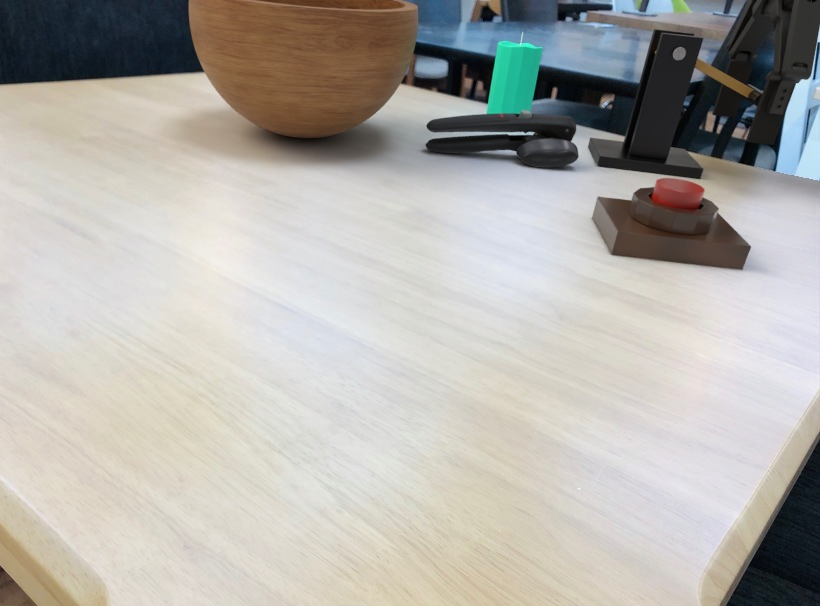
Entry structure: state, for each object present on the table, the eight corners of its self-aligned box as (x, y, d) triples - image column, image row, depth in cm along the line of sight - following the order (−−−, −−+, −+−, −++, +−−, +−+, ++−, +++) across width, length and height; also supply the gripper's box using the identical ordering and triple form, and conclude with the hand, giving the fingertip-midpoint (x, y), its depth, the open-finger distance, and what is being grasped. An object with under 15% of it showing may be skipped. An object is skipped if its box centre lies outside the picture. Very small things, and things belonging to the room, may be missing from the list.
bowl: (421, 127, 93) (437, 1, 85) (376, 180, 72) (392, 19, 64) (244, 100, 97) (244, -22, 90) (152, 143, 76) (142, -12, 68)
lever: (744, 102, 85) (757, 84, 84) (760, 113, 80) (775, 94, 79) (650, 50, 84) (663, 31, 83) (661, 58, 79) (675, 37, 78)
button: (690, 199, 63) (696, 180, 62) (704, 215, 60) (711, 195, 59) (645, 194, 63) (651, 175, 63) (657, 209, 60) (663, 189, 59)
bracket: (682, 158, 91) (720, 34, 83) (700, 178, 83) (745, 44, 76) (587, 146, 92) (617, 23, 84) (597, 166, 84) (631, 31, 77)
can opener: (565, 156, 86) (576, 109, 84) (578, 173, 80) (590, 123, 78) (421, 142, 86) (427, 94, 83) (423, 158, 80) (430, 107, 77)
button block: (707, 231, 67) (721, 191, 65) (742, 270, 59) (759, 226, 57) (591, 218, 68) (602, 177, 66) (611, 255, 60) (623, 210, 58)
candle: (531, 132, 96) (550, 37, 90) (487, 128, 96) (503, 32, 90) (523, 121, 101) (541, 31, 95) (482, 117, 101) (497, 26, 95)
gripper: (736, -80, 84) (682, 103, 95) (823, -86, 63) (740, 151, 73) (802, -74, 84) (740, 109, 94) (911, -78, 62) (815, 160, 73)
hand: (740, 128), depth 84 cm, fingers open, 13 cm apart
